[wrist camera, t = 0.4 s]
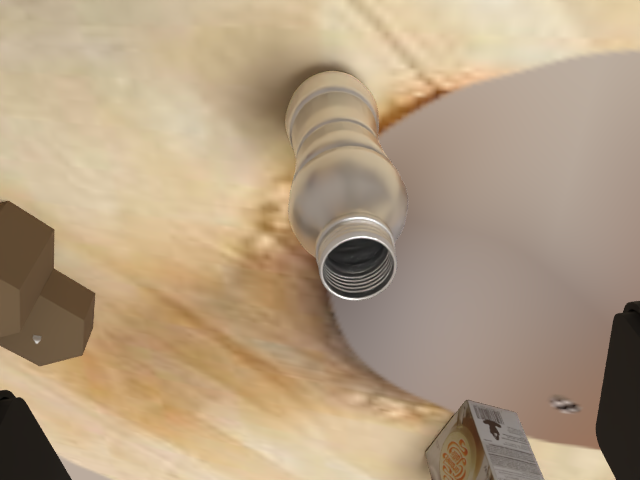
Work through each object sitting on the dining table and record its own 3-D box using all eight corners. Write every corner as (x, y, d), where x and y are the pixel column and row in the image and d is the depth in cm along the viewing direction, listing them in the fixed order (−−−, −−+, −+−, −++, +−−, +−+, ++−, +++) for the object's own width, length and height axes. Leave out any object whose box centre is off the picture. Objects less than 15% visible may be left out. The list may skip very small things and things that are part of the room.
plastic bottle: (277, 142, 46) (275, 317, 29) (294, 52, 42) (303, 194, 26) (361, 156, 47) (405, 334, 30) (384, 70, 43) (449, 218, 27)
